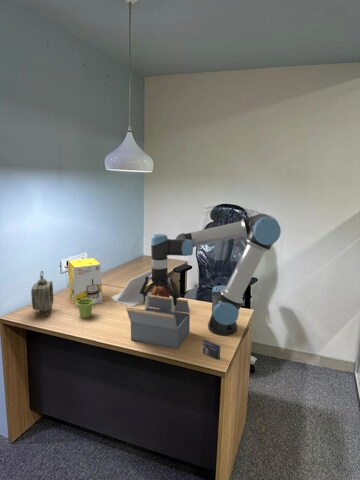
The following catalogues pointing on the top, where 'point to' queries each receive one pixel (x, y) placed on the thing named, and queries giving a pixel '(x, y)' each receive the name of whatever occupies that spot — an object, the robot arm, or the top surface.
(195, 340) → the top surface
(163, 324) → the near flap
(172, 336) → the carton
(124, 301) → the tablet stand
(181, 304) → the far flap
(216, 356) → the mini dv tape
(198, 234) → the robot arm
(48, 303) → the tabletop clock
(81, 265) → the packaging box
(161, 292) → the reddish brown bumpy lump
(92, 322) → the top surface
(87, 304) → the plant pot
